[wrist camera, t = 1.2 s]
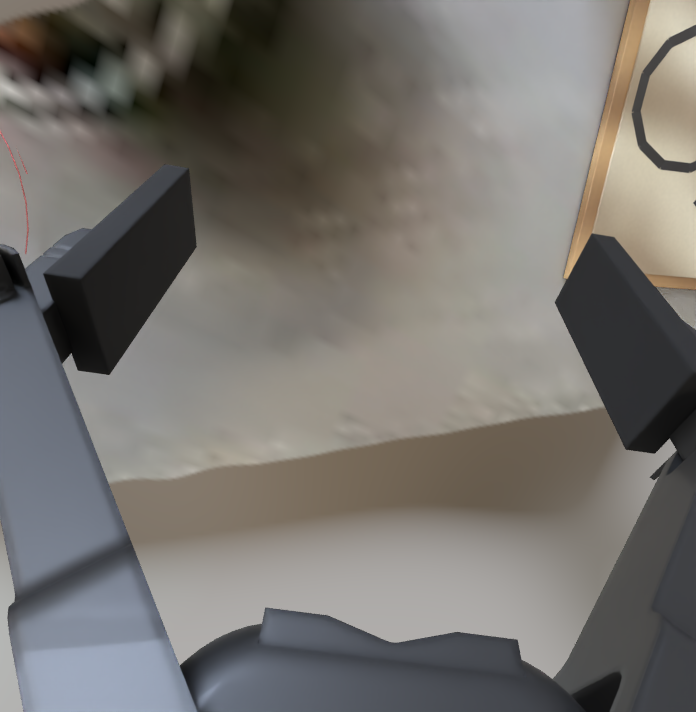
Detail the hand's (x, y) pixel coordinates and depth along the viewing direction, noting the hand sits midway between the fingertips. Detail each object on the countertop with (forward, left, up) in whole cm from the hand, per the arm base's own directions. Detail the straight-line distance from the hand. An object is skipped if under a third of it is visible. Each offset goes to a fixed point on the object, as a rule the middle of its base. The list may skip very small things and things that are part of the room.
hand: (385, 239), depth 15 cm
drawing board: (-8, +30, -20) cm, 37 cm away
